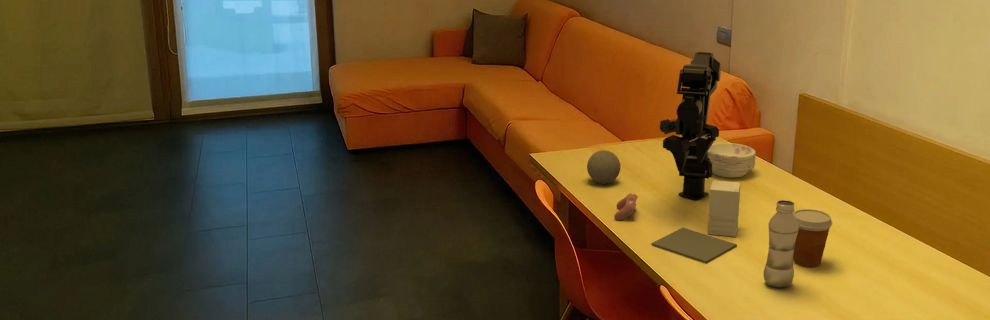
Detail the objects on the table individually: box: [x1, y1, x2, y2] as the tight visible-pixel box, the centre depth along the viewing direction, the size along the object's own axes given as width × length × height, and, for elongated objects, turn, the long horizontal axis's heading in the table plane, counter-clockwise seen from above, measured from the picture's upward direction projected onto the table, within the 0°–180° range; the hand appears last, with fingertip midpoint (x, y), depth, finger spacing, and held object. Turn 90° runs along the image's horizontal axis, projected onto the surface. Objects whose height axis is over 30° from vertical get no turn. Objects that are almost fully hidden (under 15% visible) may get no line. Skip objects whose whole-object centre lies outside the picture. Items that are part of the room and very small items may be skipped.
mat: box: [650, 227, 738, 264], centre depth 227 cm, size 14×16×1 cm
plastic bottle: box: [763, 199, 799, 288], centre depth 203 cm, size 6×7×20 cm
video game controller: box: [613, 192, 639, 221], centre depth 247 cm, size 10×5×7 cm, turn 169°
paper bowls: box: [708, 142, 757, 179], centre depth 278 cm, size 15×15×8 cm
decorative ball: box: [586, 149, 621, 185], centre depth 271 cm, size 10×10×10 cm
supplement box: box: [707, 179, 741, 238], centre depth 234 cm, size 7×7×13 cm
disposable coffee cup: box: [793, 208, 833, 268], centre depth 216 cm, size 10×10×12 cm
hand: (689, 167), depth 246 cm, fingers open, 9 cm apart
